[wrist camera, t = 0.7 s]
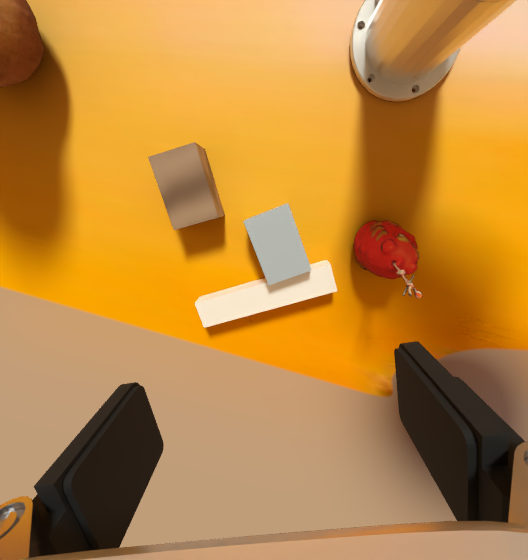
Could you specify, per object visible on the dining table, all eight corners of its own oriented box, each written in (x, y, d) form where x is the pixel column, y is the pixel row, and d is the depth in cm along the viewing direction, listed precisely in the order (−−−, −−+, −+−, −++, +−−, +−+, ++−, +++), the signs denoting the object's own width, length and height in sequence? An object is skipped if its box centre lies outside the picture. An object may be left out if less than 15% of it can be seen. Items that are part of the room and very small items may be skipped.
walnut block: (164, 162, 39) (148, 157, 34) (205, 149, 38) (194, 142, 33) (186, 226, 41) (173, 230, 36) (225, 215, 40) (218, 217, 35)
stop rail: (199, 296, 43) (194, 303, 41) (326, 259, 41) (330, 264, 38) (209, 319, 44) (204, 327, 42) (333, 284, 42) (337, 291, 39)
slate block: (247, 218, 40) (243, 221, 35) (286, 203, 39) (288, 203, 35) (269, 275, 42) (268, 285, 37) (307, 262, 41) (311, 270, 37)
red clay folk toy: (411, 241, 40) (488, 265, 25) (377, 279, 42) (431, 322, 27) (371, 209, 39) (426, 214, 24) (337, 249, 41) (371, 276, 26)
